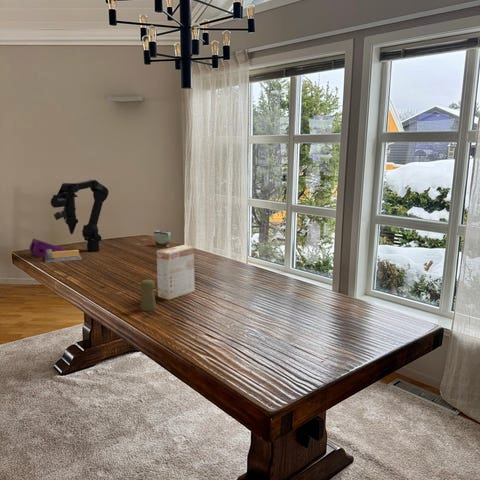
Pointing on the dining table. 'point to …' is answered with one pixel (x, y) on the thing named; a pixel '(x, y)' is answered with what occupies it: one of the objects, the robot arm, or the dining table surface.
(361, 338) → the dining table surface
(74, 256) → the chassis plate
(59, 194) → the robot arm
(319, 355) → the dining table surface
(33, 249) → the mounting bracket
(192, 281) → the coffeecake box
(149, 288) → the olive green upright piece
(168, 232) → the food container
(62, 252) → the swing arm
